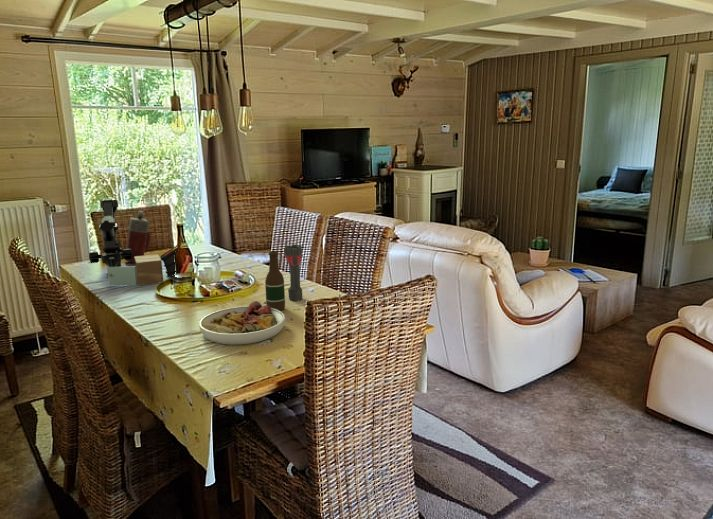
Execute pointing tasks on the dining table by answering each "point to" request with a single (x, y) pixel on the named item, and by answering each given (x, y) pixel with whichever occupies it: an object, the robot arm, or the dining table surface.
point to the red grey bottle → (138, 236)
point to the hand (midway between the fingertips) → (112, 270)
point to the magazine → (169, 261)
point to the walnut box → (149, 269)
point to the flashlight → (294, 270)
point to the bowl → (242, 324)
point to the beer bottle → (275, 284)
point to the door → (122, 275)
